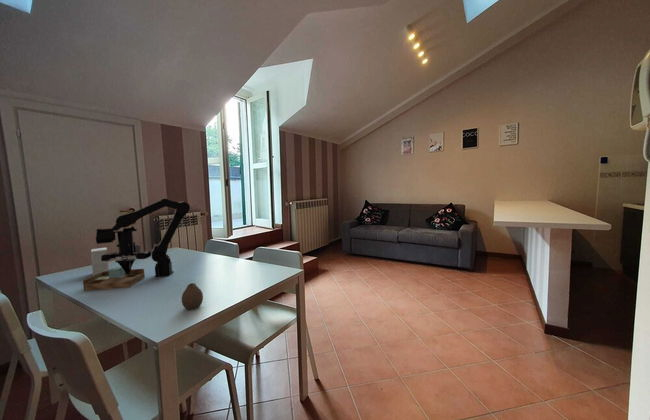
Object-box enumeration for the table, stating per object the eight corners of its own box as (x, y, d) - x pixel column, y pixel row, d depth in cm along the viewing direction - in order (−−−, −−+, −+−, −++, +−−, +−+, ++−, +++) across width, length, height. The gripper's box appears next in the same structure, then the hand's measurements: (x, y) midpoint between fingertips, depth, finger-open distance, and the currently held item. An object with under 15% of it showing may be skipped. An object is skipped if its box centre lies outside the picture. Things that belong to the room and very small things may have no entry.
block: (125, 274, 126) (124, 266, 126) (119, 277, 122) (119, 269, 122) (115, 275, 126) (114, 267, 125) (109, 278, 121) (108, 269, 121)
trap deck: (144, 277, 129) (144, 268, 129) (129, 287, 116) (128, 277, 116) (103, 280, 126) (103, 271, 126) (83, 290, 113) (82, 280, 113)
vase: (187, 304, 98) (185, 281, 97) (206, 303, 99) (204, 280, 98) (178, 312, 91) (177, 288, 91) (199, 311, 92) (197, 287, 91)
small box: (109, 274, 135) (106, 249, 134) (92, 277, 131) (90, 251, 130) (109, 270, 141) (107, 247, 140) (93, 273, 137) (91, 248, 136)
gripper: (155, 237, 133) (157, 267, 134) (114, 238, 129) (116, 269, 131) (144, 241, 122) (146, 274, 123) (98, 243, 118) (101, 277, 120)
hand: (128, 273), depth 124 cm, fingers closed
